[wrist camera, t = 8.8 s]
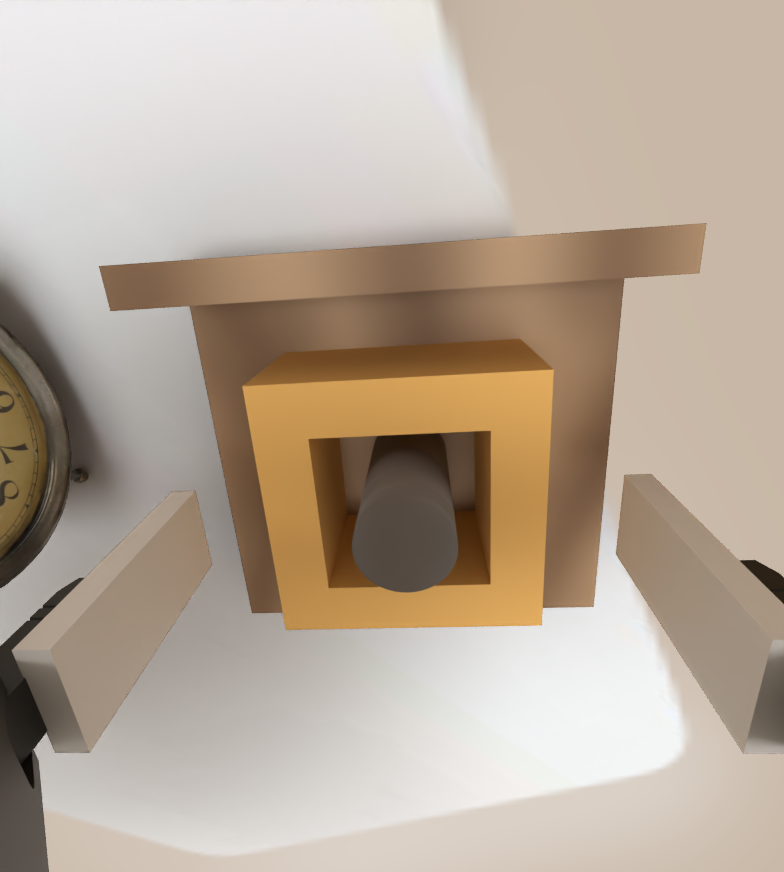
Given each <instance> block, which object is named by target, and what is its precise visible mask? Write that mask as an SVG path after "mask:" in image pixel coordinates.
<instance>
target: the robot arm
mask: <svg viewBox="0 0 784 872" xmlns="http://www.w3.org/2000/svg"><path fill="white" fill-rule="evenodd" d="M616 555H617V557H618V558H619V560H620V561H621V563H622V564H623V566H624V568H625V569H626V571H627V572H628V574H629V575H630V577H631V578H632V580H633V582H634V583H635V585H636V586H637V588H638V589H639V591H640V593H641V594H642V596H643V597H644V599H645V600H646V602H647V604H648V605H649V607H650V608H651V610H652V611H653V613H654V615H655V616H656V618H657V619H658V621H659V622H660V624H661V626H662V627H663V629H664V630H665V632H666V633H667V635H668V637H669V638H670V640H671V641H672V643H673V644H674V646H675V647H676V649H677V651H678V652H679V654H680V655H681V657H682V658H683V660H684V662H685V663H686V665H687V666H688V668H689V669H690V671H691V672H692V674H693V676H694V677H695V679H696V680H697V682H698V683H699V685H700V687H701V688H702V690H703V691H704V693H705V695H706V696H707V698H708V699H709V701H710V702H711V704H712V705H713V707H714V709H715V710H716V712H717V713H718V715H719V716H720V718H721V720H722V721H723V723H724V724H725V726H726V727H727V729H728V731H729V732H730V734H731V735H732V737H733V738H734V740H735V741H736V743H737V745H738V746H739V748H740V749H741V751H742V752H743V754H784V578H783V576H781V575H780V574H779V573H777V572H776V571H774V570H772V569H770V568H768V567H767V566H765V565H763V564H761V563H759V562H757V561H756V560H741V561H739V560H738V559H737V558H736V557H735V556H734V555H733V554H732V553H731V552H730V551H729V550H728V549H727V548H726V547H725V546H724V545H723V544H722V543H721V542H720V541H719V540H718V539H717V538H716V537H715V536H714V535H713V534H712V533H711V532H710V531H709V530H708V529H707V528H706V527H705V526H704V525H703V524H702V523H701V522H699V520H698V519H697V518H695V516H694V515H692V514H691V513H690V512H689V511H688V510H687V509H686V508H685V507H684V506H683V505H682V504H681V503H680V502H679V501H678V500H677V499H676V498H675V497H674V496H673V495H672V494H671V493H670V492H669V491H668V490H667V489H666V488H665V487H664V486H663V485H662V484H661V483H660V482H659V481H658V480H657V479H656V478H655V477H654V476H653V475H652V474H637V475H624V485H623V493H622V503H621V512H620V521H619V530H618V540H617V549H616ZM211 566H212V562H211V558H210V553H209V549H208V544H207V540H206V536H205V531H204V527H203V522H202V518H201V514H200V509H199V505H198V501H197V496H196V492H195V491H175V492H171V493H170V494H169V495H168V496H167V497H166V498H165V499H164V500H163V501H162V502H161V503H160V504H159V505H158V506H157V507H156V508H155V509H154V510H153V511H152V512H151V513H150V514H149V515H148V516H147V517H146V518H145V519H144V520H143V521H142V522H141V523H140V524H139V525H138V526H137V527H136V528H135V529H134V530H133V531H132V532H131V533H130V534H129V535H128V536H126V537H125V538H124V539H123V540H122V541H121V542H120V543H119V544H118V545H117V546H116V547H115V548H114V549H113V550H112V551H111V552H110V553H109V554H108V555H107V556H106V557H105V558H104V559H103V560H102V561H101V562H100V563H99V564H98V565H97V566H96V567H95V568H94V569H93V570H92V571H91V572H90V573H89V574H88V575H87V576H86V577H85V578H78V579H77V580H75V581H74V582H72V583H70V584H69V585H67V586H66V587H64V588H62V589H61V590H59V591H58V592H57V593H56V594H55V595H54V596H53V597H51V598H50V599H49V600H48V601H47V602H46V603H45V604H44V605H43V608H42V609H39V610H38V611H37V612H36V613H35V614H34V615H33V616H32V617H31V618H30V621H26V622H25V623H24V624H23V625H22V626H21V627H20V628H19V629H18V630H17V631H16V632H15V633H14V634H13V635H12V636H11V637H10V638H9V639H8V640H6V641H5V642H4V643H3V644H2V645H1V646H0V872H49V868H48V858H47V847H46V837H45V825H44V814H43V804H42V793H41V782H40V771H39V761H38V759H37V756H36V754H35V752H34V750H33V749H34V748H35V746H36V745H37V744H38V743H39V741H40V740H41V739H42V737H43V736H44V735H45V733H46V732H47V735H48V737H49V739H50V742H51V744H52V746H53V749H54V751H55V753H90V751H91V750H92V748H93V747H94V745H95V744H96V742H97V741H98V739H99V738H100V736H101V735H102V733H103V731H104V730H105V728H106V727H107V725H108V724H109V722H110V721H111V719H112V718H113V716H114V715H115V713H116V711H117V710H118V708H119V707H120V705H121V704H122V702H123V701H124V699H125V698H126V696H127V695H128V693H129V692H130V690H131V688H132V687H133V685H134V684H135V682H136V681H137V679H138V678H139V676H140V675H141V673H142V672H143V670H144V668H145V667H146V665H147V664H148V662H149V661H150V659H151V658H152V656H153V655H154V653H155V652H156V650H157V648H158V647H159V645H160V644H161V642H162V641H163V639H164V638H165V636H166V635H167V633H168V632H169V630H170V629H171V627H172V625H173V624H174V622H175V621H176V619H177V618H178V616H179V615H180V613H181V612H182V610H183V609H184V607H185V605H186V604H187V602H188V601H189V599H190V598H191V596H192V595H193V593H194V592H195V590H196V589H197V587H198V585H199V584H200V582H201V581H202V579H203V578H204V576H205V575H206V573H207V572H208V570H209V569H210V567H211Z"/></svg>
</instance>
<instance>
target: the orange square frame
mask: <svg viewBox="0 0 784 872" xmlns="http://www.w3.org/2000/svg"><path fill="white" fill-rule="evenodd" d="M553 375H554V369H553V368H552V367H550V366H549V365H548V364H547V363H546V362H545V361H544V360H543V359H542V358H541V357H540V356H539V355H537V354H536V353H535V352H534V351H533V350H532V349H531V348H530V347H529V346H528V345H527V344H526V343H524V342H523V341H522V340H521V339H507V340H490V341H473V342H456V343H439V344H422V345H404V346H387V347H370V348H353V349H336V350H319V351H302V352H285V353H284V354H282V355H281V356H280V357H279V358H277V359H276V360H275V361H274V362H272V363H271V364H270V365H269V366H267V367H266V368H265V369H263V370H262V371H261V372H260V373H258V374H257V375H256V376H255V377H253V378H252V379H251V380H250V381H248V382H247V383H246V384H244V385H243V386H242V388H243V393H244V399H245V404H246V410H247V415H248V421H249V427H250V432H251V438H252V443H253V449H254V455H255V460H256V466H257V471H258V477H259V483H260V488H261V494H262V499H263V505H264V511H265V516H266V522H267V527H268V533H269V538H270V544H271V550H272V555H273V561H274V566H275V572H276V578H277V583H278V589H279V594H280V600H281V606H282V611H283V617H284V622H285V628H286V630H302V629H359V628H416V627H473V626H531V625H542V609H543V588H544V567H545V546H546V524H547V503H548V482H549V460H550V439H551V418H552V397H553ZM472 431H474V455H475V511H454V516H455V524H456V532H457V540H458V556H457V560H456V562H455V565H454V567H453V569H452V570H451V572H450V573H449V574H448V575H447V576H446V577H445V578H444V579H443V580H442V581H441V582H439V583H438V584H436V585H435V586H433V587H430V588H428V589H425V590H422V591H417V592H409V593H405V592H395V591H391V590H387V589H384V588H382V587H380V586H378V585H376V584H374V583H373V582H371V581H370V580H369V579H368V578H366V577H365V576H364V574H363V573H362V572H361V571H360V569H359V568H358V566H357V564H356V563H355V560H354V557H353V553H352V539H353V534H354V530H355V526H356V521H357V517H358V515H348V510H347V501H346V492H345V483H344V474H343V465H342V457H341V448H340V439H339V438H340V437H362V436H384V435H406V434H428V433H450V432H472Z"/></svg>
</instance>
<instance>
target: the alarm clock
mask: <svg viewBox="0 0 784 872" xmlns="http://www.w3.org/2000/svg"><path fill="white" fill-rule="evenodd" d="M88 476H89V474H88V473H87V472H86V471H85V470H83V469H76V470H72V469H71V448H70V441H69V434H68V429H67V424H66V420H65V417H64V414H63V411H62V408H61V406H60V403H59V401H58V399H57V396H56V394H55V392H54V390H53V389H52V387H51V385H50V383H49V381H48V379H47V378H46V376H45V374H44V373H43V371H42V370H41V368H40V367H39V365H38V364H37V362H36V361H35V360H34V358H33V357H32V356H31V355H30V354H29V352H28V351H27V350H26V349H25V347H24V346H23V345H22V344H21V343H20V342H19V341H18V340H17V339H16V338H15V337H14V336H13V335H12V334H11V333H10V332H9V331H8V330H7V329H6V328H5V327H4V326H3V325H1V324H0V588H2V587H3V586H5V585H6V584H8V583H9V582H10V581H11V580H12V579H14V578H15V577H16V576H17V575H18V574H20V573H21V572H22V571H23V570H24V569H25V568H26V567H27V566H28V565H29V564H30V563H31V562H32V561H33V560H34V559H35V558H36V556H37V555H38V554H39V553H40V552H41V551H42V549H43V548H44V546H45V545H46V543H47V542H48V540H49V539H50V537H51V535H52V534H53V532H54V530H55V528H56V526H57V524H58V522H59V520H60V517H61V515H62V513H63V510H64V507H65V504H66V500H67V496H68V491H69V485H70V480H74V481H75V482H77V483H82V482H84V481H86V480H87V479H88Z"/></svg>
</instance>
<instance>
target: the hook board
mask: <svg viewBox="0 0 784 872" xmlns="http://www.w3.org/2000/svg"><path fill="white" fill-rule="evenodd" d="M705 230H706V223H702V224H688V225H675V226H660V227H646V228H632V229H619V230H603V231H590V232H575V233H561V234H548V235H533V236H519V237H505V238H491V239H477V240H463V241H448V242H434V243H420V244H406V245H392V246H378V247H364V248H350V249H336V250H322V251H308V252H293V253H279V254H265V255H251V256H237V257H223V258H209V259H195V260H181V261H167V262H153V263H139V264H124V265H110V266H99V268H100V272H101V276H102V280H103V283H104V287H105V291H106V295H107V299H108V303H109V307H110V311H118V310H134V309H150V308H165V307H181V306H190V310H191V315H192V320H193V325H194V330H195V335H196V340H197V345H198V350H199V354H200V359H201V364H202V369H203V374H204V379H205V384H206V389H207V394H208V399H209V404H210V409H211V413H212V418H213V423H214V428H215V433H216V438H217V443H218V448H219V453H220V458H221V463H222V468H223V472H224V477H225V482H226V487H227V492H228V497H229V502H230V507H231V512H232V517H233V522H234V527H235V531H236V536H237V541H238V546H239V551H240V556H241V561H242V566H243V571H244V576H245V581H246V586H247V590H248V595H249V600H250V605H251V610H252V613H283V611H282V606H281V600H280V594H279V589H278V583H277V578H276V572H275V566H274V561H273V555H272V550H271V544H270V538H269V533H268V527H267V522H266V516H265V511H264V505H263V499H262V494H261V488H260V483H259V477H258V471H257V466H256V460H255V455H254V449H253V443H252V438H251V432H250V427H249V421H248V415H247V410H246V404H245V399H244V393H243V388H242V386H243V385H244V384H246V383H247V382H248V381H250V380H251V379H252V378H253V377H255V376H256V375H257V374H258V373H260V372H261V371H262V370H263V369H265V368H266V367H267V366H269V365H270V364H271V363H272V362H274V361H275V360H276V359H277V358H279V357H280V356H281V355H282V354H284V353H285V352H302V351H319V350H336V349H353V348H370V347H387V346H404V345H422V344H439V343H456V342H473V341H490V340H507V339H521V340H522V341H523V342H524V343H526V344H527V345H528V346H529V347H530V348H531V349H532V350H533V351H534V352H535V353H536V354H537V355H539V356H540V357H541V358H542V359H543V360H544V361H545V362H546V363H547V364H548V365H549V366H550V367H552V368H553V369H554V375H553V397H552V418H551V439H550V460H549V482H548V503H547V524H546V546H545V567H544V588H543V608H554V607H594V596H595V585H596V575H597V564H598V553H599V543H600V532H601V521H602V510H603V500H604V489H605V478H606V468H607V467H606V466H607V456H608V446H609V436H610V424H611V414H612V403H613V393H614V382H615V371H616V361H617V350H618V339H619V328H620V318H621V307H622V296H623V286H624V278H632V277H648V276H664V275H680V274H695V273H699V272H700V265H701V258H702V251H703V244H704V238H705ZM339 439H340V448H341V457H342V465H343V474H344V483H345V492H346V501H347V510H348V515H358V517H357V521H356V526H355V530H354V534H353V539H352V553H353V557H354V560H355V563H356V564H357V566H358V568H359V569H360V571H361V572H362V573H363V574H364V576H365V577H366V578H368V579H369V580H370V581H371V582H373V583H374V584H376V585H378V586H380V587H382V588H384V589H387V590H391V591H395V592H405V593H409V592H417V591H422V590H425V589H428V588H430V587H433V586H435V585H436V584H438V583H439V582H441V581H442V580H443V579H444V578H445V577H446V576H447V575H448V574H449V573H450V572H451V570H452V569H453V567H454V565H455V562H456V560H457V556H458V540H457V532H456V524H455V516H454V511H475V455H474V431H472V432H450V433H428V434H406V435H384V436H362V437H340V438H339Z"/></svg>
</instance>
